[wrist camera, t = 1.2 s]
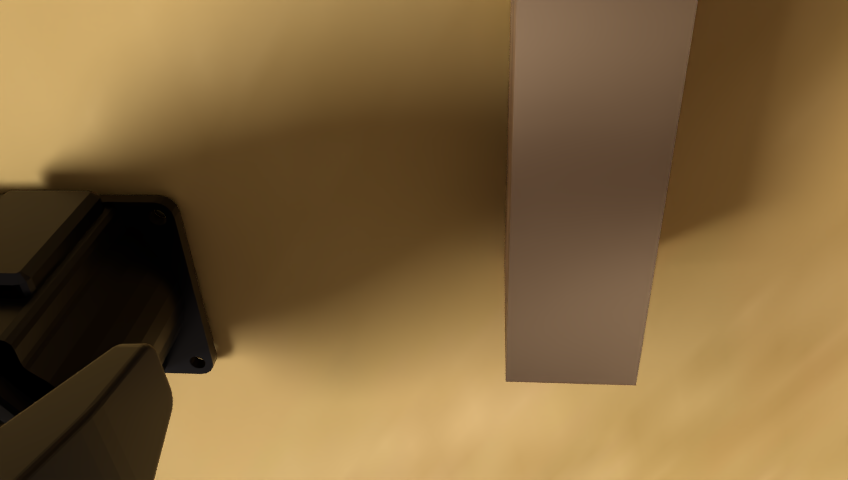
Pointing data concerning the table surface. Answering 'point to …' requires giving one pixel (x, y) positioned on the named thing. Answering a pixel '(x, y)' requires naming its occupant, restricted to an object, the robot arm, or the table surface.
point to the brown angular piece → (588, 180)
